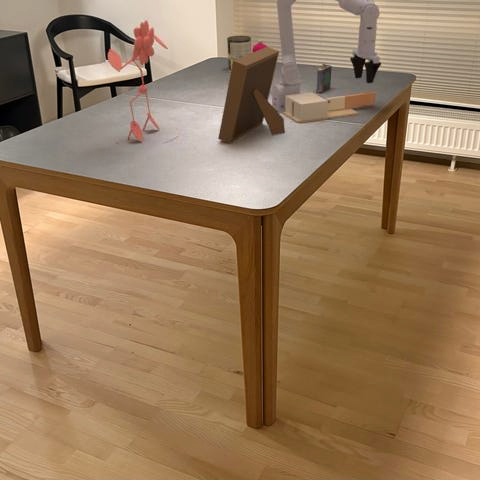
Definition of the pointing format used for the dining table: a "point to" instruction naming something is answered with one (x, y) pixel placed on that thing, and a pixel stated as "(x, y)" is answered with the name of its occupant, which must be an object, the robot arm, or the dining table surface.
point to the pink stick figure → (143, 51)
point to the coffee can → (238, 48)
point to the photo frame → (250, 96)
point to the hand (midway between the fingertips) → (363, 80)
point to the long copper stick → (351, 101)
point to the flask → (323, 78)
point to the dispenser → (311, 108)
